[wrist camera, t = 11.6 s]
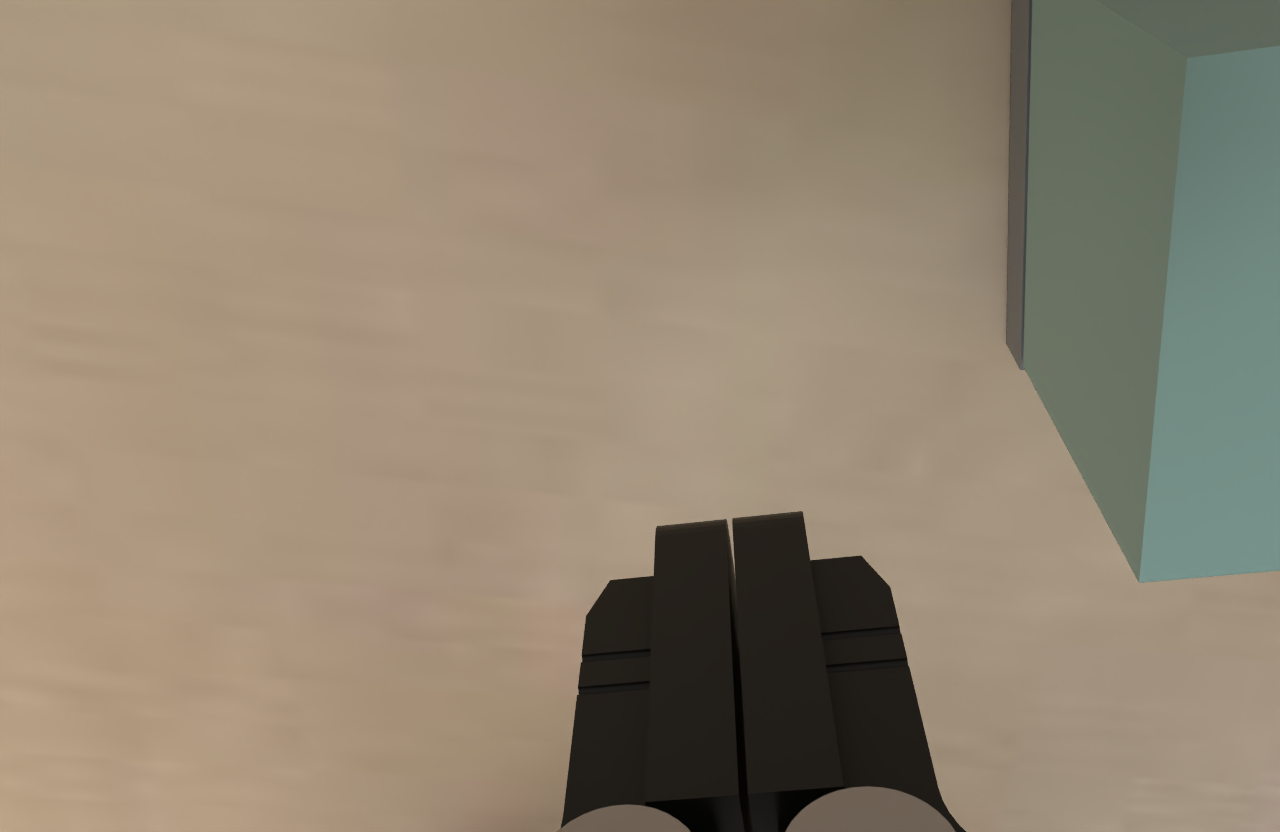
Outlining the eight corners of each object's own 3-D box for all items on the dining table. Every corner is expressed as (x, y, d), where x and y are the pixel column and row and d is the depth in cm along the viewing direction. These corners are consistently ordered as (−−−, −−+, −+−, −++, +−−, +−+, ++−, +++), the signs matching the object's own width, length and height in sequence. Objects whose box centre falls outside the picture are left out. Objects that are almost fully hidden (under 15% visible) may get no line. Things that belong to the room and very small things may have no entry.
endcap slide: (1326, 333, 22) (1556, 546, 16) (1023, 365, 23) (1139, 582, 17) (1398, -92, 18) (1733, -14, 12) (1033, -39, 19) (1186, 58, 13)
